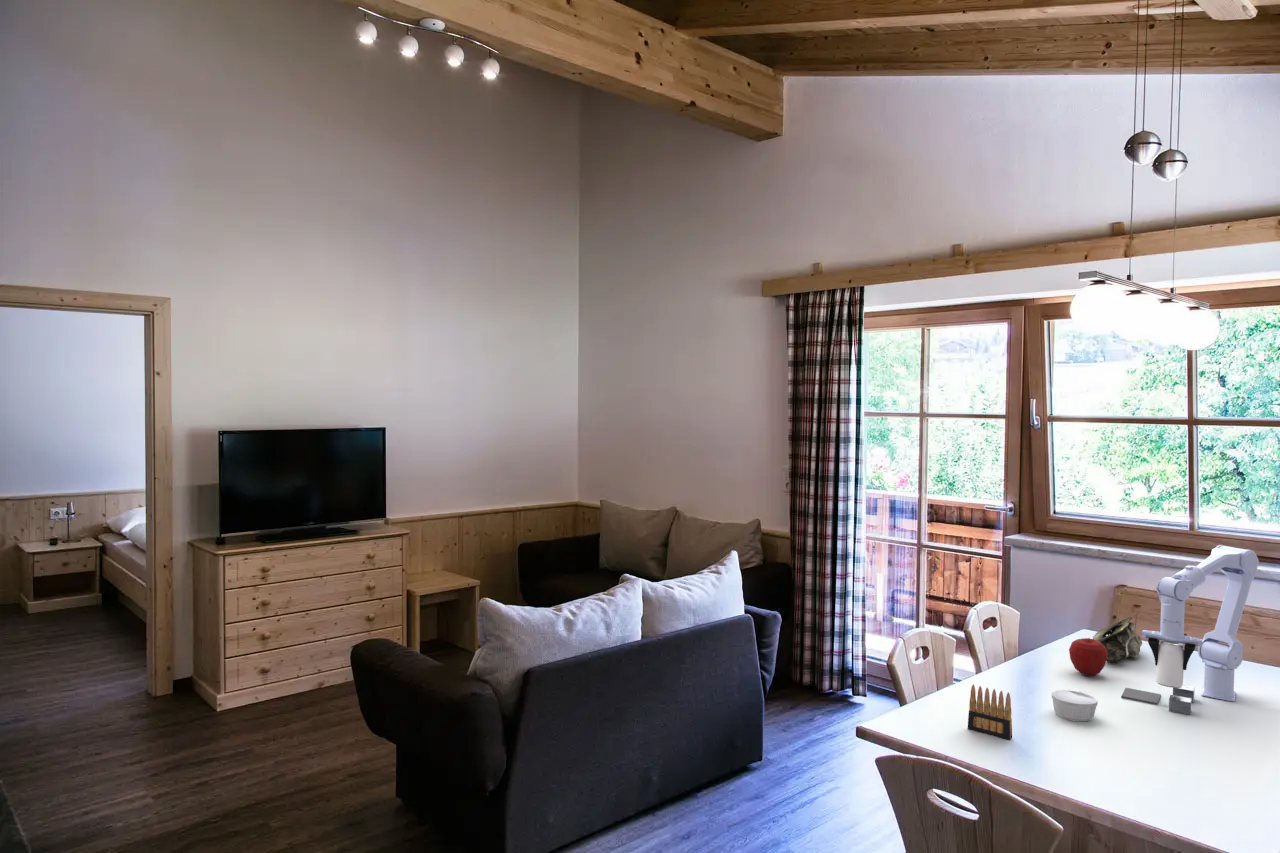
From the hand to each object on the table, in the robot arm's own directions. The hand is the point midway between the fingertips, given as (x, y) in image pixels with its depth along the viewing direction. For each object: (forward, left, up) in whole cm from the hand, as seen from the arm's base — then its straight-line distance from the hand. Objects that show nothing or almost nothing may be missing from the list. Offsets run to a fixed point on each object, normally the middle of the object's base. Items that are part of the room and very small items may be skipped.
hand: (1170, 666), depth 239 cm
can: (+1, 0, -5) cm, 5 cm away
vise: (0, +3, -10) cm, 11 cm away
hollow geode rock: (-39, -19, -11) cm, 45 cm away
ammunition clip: (+56, -35, -11) cm, 67 cm away
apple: (-13, -23, -11) cm, 29 cm away
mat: (0, -7, -10) cm, 13 cm away
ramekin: (+28, -20, -11) cm, 36 cm away
